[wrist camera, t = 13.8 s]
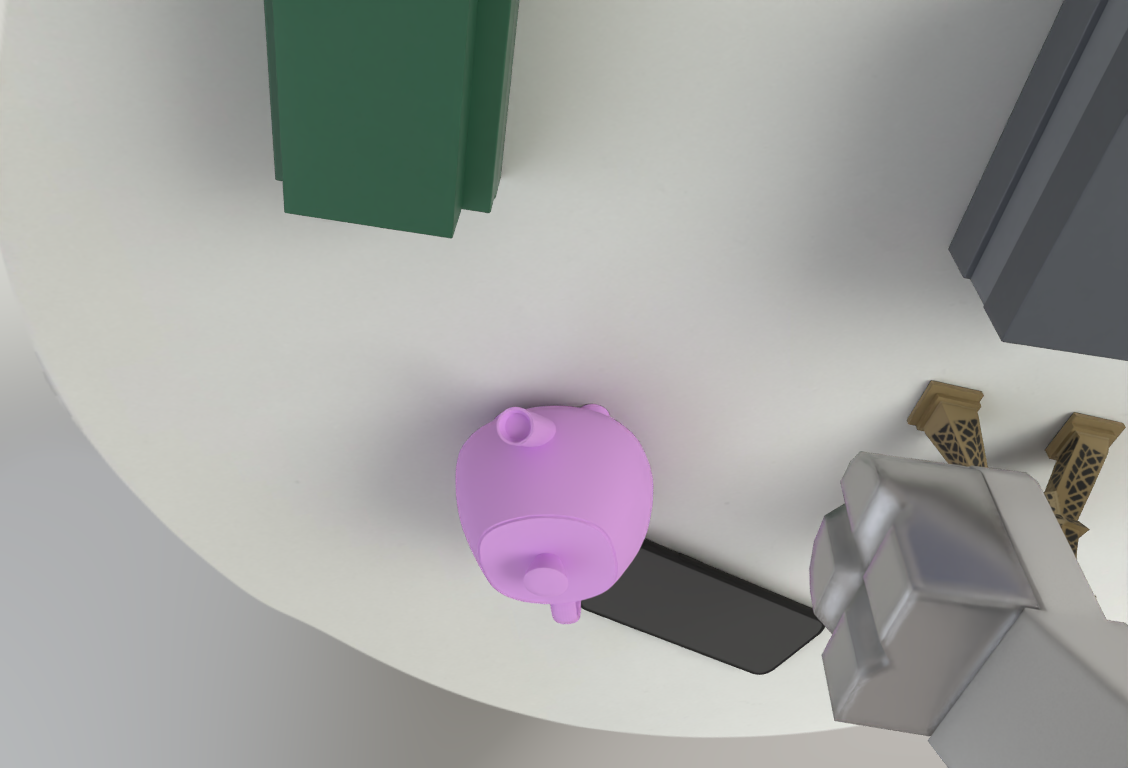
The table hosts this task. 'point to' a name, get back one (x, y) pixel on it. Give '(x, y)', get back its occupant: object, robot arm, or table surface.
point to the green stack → (485, 100)
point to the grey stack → (1059, 195)
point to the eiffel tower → (1074, 447)
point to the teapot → (554, 503)
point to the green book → (375, 109)
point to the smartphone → (706, 610)
